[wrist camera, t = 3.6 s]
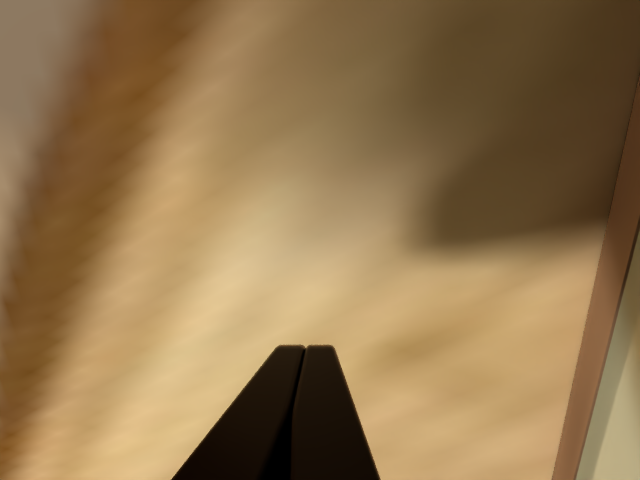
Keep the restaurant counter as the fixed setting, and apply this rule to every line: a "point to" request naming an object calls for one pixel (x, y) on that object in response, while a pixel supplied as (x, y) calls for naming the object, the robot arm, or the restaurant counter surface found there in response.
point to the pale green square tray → (618, 395)
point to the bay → (604, 301)
